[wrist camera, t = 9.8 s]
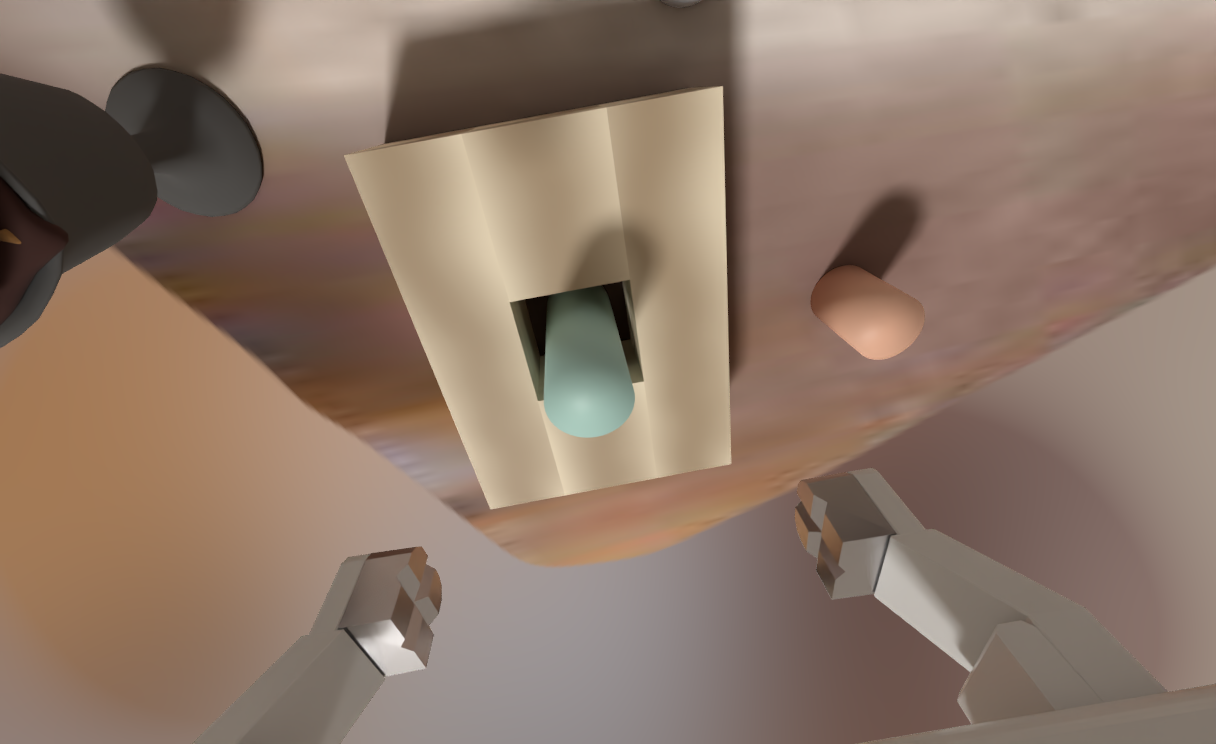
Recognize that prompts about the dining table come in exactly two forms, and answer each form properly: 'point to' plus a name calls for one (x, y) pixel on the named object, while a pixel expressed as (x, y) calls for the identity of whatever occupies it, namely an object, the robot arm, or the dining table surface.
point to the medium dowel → (680, 2)
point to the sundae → (107, 174)
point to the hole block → (566, 279)
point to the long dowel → (585, 365)
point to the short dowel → (867, 312)
